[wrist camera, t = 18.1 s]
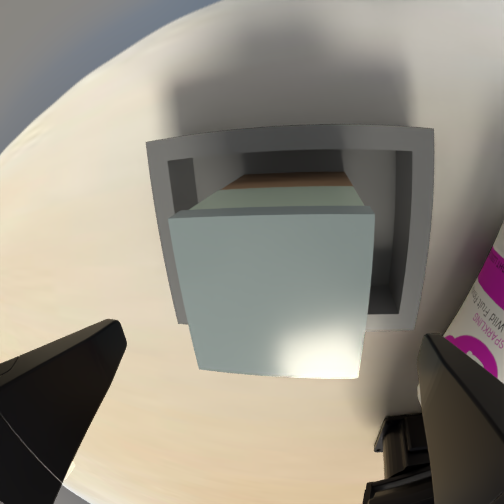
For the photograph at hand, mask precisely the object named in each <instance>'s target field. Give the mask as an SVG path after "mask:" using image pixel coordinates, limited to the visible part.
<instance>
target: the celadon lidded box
mask: <svg viewBox="0 0 504 504" xmlns="http://www.w3.org/2000/svg"><path fill="white" fill-rule="evenodd" d="M168 222H169V229H170V234H171V240H172V246H173V252H174V257H175V262H176V268H177V273H178V278H179V283H180V288H181V293H182V298H183V302H184V307H185V312H186V316H187V321H188V325H189V330H190V334H191V338H192V342H193V347H194V351H195V355H196V359H197V363H198V367H199V369H201V370H209V371H218V372H227V373H237V374H248V375H260V376H275V377H293V378H330V379H352V378H358V374H359V368H360V362H361V356H362V350H363V343H364V336H365V329H366V321H367V313H368V305H369V296H370V286H371V274H372V262H373V247H374V227H375V214H374V212H373V210H372V209H371V207H370V206H364V204H363V202H362V200H361V199H360V197H359V195H358V194H357V192H356V190H355V189H354V187H353V186H308V187H271V188H247V189H228V190H218V191H217V192H215V193H213V194H212V195H210V196H209V197H207V198H206V199H204V200H203V201H201V202H200V203H198V204H197V205H195V206H194V207H192V208H191V209H189V210H180V211H179V212H177V213H176V214H174V215H173V216H171V217H170V218H168Z"/></svg>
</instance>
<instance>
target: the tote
mask: <svg viewBox="0 0 504 504" xmlns="http://www.w3.org/2000/svg"><path fill="white" fill-rule="evenodd" d="M146 148H147V156H148V164H149V172H150V179H151V186H152V193H153V199H154V206H155V212H156V218H157V224H158V229H159V235H160V241H161V246H162V251H163V256H164V261H165V266H166V271H167V276H168V281H169V286H170V290H171V295H172V299H173V304H174V308H175V312H176V317H177V321H178V324H188V321H187V316H186V312H185V307H184V302H183V298H182V293H181V288H180V283H179V278H178V273H177V268H176V262H175V257H174V252H173V246H172V240H171V234H170V229H169V222H168V218H170V217H171V216H173V215H174V214H176V213H177V212H179V211H180V210H189V209H191V208H192V207H194V206H195V205H197V204H198V203H200V202H201V201H203V200H204V199H206V198H207V197H209V196H210V195H212V194H213V193H215V192H217V191H218V190H221V189H222V188H224V187H226V186H227V185H229V184H230V183H232V182H233V181H235V180H237V179H238V178H240V177H241V176H243V175H247V174H266V173H292V172H345V174H346V175H347V177H348V178H349V180H350V182H351V183H352V185H353V186H354V189H355V190H356V192H357V194H358V195H359V197H360V199H361V200H362V202H363V204H364V206H370V207H371V209H372V210H373V212H374V214H375V227H374V247H373V262H372V274H371V286H370V296H369V305H368V313H367V321H366V329H365V332H368V331H405V330H414V328H415V324H416V319H417V315H418V310H419V305H420V299H421V294H422V288H423V283H424V276H425V270H426V263H427V256H428V248H429V239H430V230H431V219H432V206H433V188H434V129H432V128H421V127H408V126H391V125H363V124H319V125H290V126H272V127H258V128H246V129H235V130H226V131H217V132H208V133H200V134H193V135H186V136H179V137H173V138H167V139H161V140H155V141H149V142H146Z"/></svg>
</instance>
